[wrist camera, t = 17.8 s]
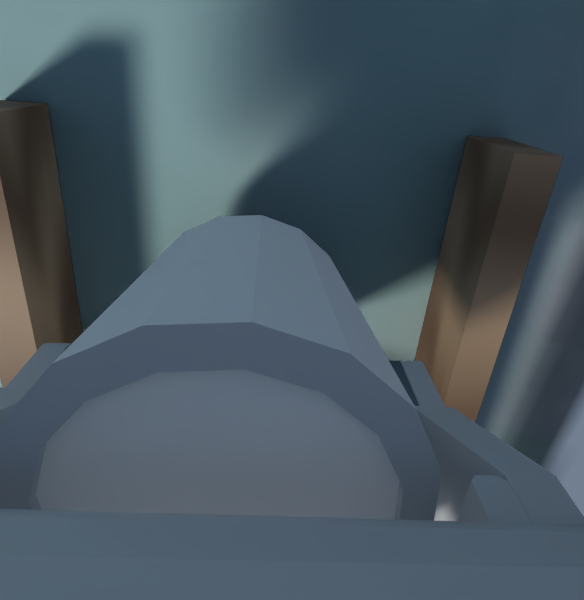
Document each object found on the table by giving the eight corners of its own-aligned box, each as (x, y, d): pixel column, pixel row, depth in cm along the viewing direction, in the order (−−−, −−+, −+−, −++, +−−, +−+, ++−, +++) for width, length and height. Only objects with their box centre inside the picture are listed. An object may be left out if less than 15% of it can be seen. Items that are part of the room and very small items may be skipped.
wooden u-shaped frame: (3, 100, 13) (-71, 109, 10) (507, 138, 14) (563, 156, 11) (83, 518, 20) (54, 587, 18) (401, 526, 21) (418, 592, 19)
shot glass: (125, 388, 14) (6, 631, 8) (129, 169, 11) (-51, 285, 5) (337, 414, 15) (379, 656, 9) (393, 213, 12) (516, 363, 6)
